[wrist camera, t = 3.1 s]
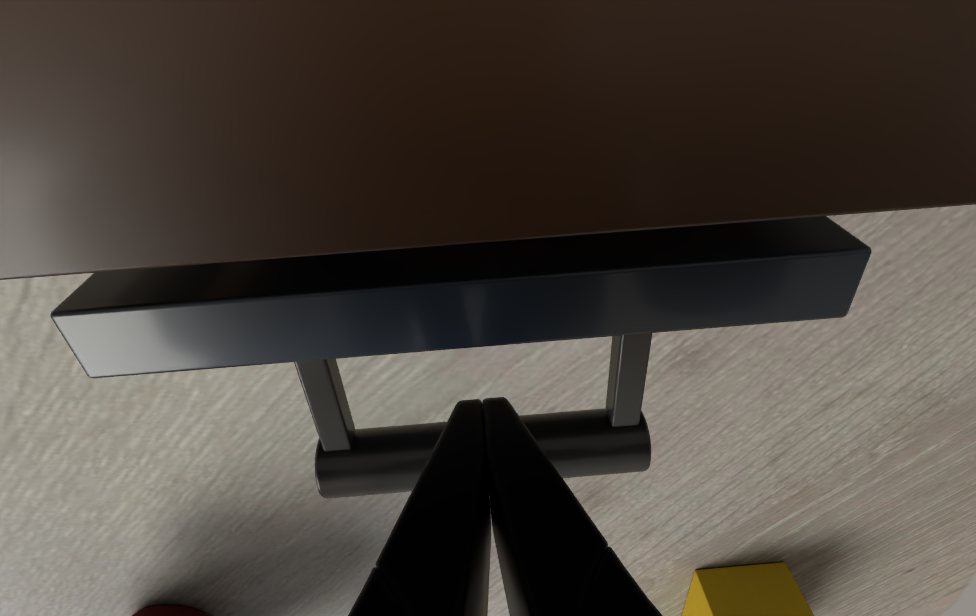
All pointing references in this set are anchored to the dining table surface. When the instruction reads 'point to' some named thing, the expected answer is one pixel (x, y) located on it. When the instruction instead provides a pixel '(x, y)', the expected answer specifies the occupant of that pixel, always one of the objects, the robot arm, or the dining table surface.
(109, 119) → the cabinet
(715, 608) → the block
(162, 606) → the mug
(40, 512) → the dining table surface
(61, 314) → the drawer
